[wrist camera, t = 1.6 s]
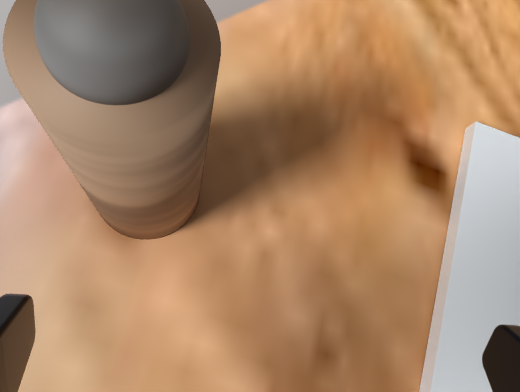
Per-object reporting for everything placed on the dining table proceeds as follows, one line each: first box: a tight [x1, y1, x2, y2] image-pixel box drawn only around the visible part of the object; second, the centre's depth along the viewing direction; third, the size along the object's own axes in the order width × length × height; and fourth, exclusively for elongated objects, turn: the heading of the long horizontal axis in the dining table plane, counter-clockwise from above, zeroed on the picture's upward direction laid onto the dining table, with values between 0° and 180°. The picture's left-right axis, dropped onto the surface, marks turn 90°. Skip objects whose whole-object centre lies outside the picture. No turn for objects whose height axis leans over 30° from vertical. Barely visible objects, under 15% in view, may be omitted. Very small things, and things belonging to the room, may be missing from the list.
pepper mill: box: [3, 0, 221, 239], centre depth 16 cm, size 5×5×14 cm
